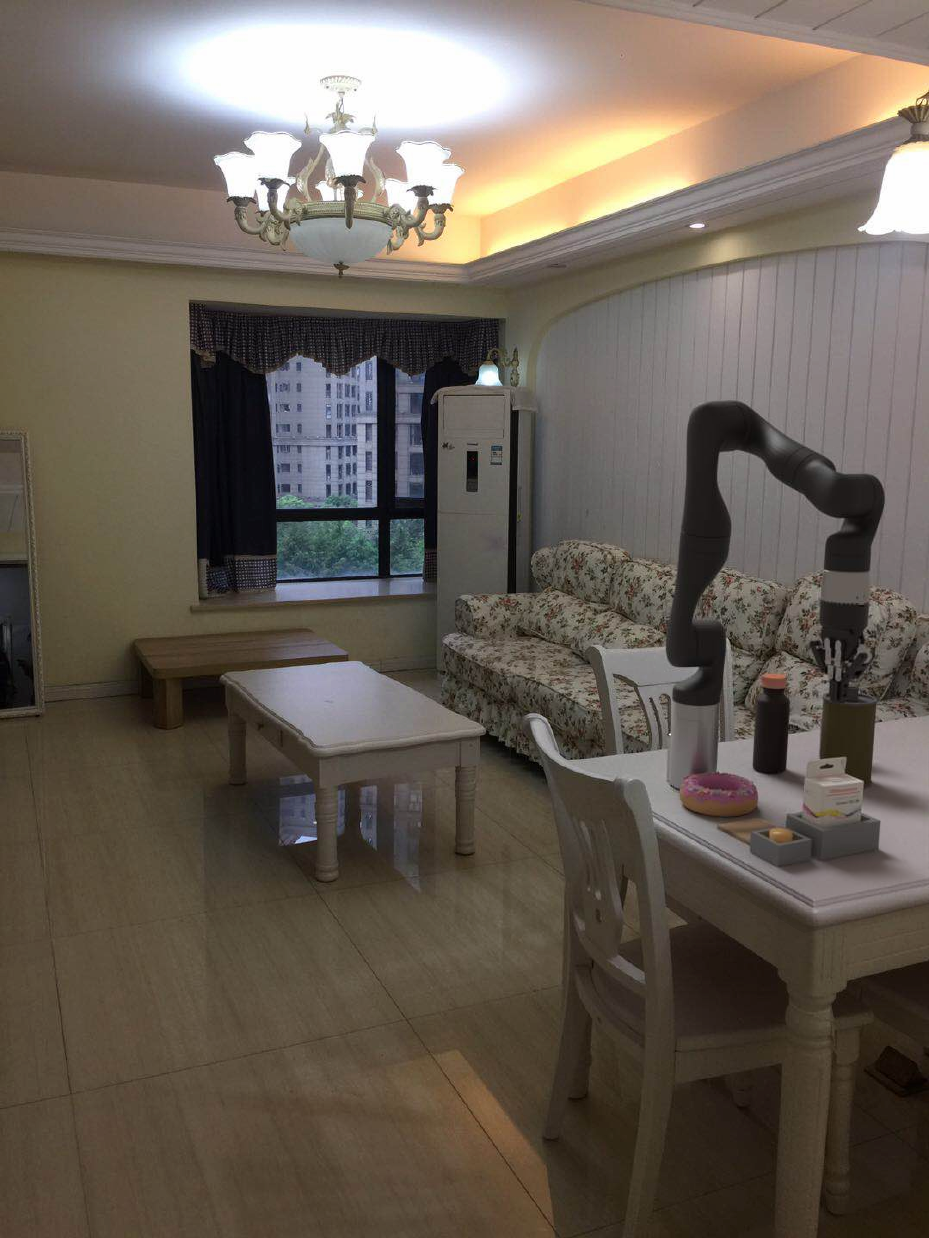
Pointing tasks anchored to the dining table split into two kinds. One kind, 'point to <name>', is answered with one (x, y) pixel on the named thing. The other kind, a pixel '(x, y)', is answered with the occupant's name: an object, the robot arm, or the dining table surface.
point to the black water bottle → (771, 726)
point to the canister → (850, 732)
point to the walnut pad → (744, 828)
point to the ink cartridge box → (831, 794)
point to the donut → (718, 794)
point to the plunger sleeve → (780, 847)
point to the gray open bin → (837, 836)
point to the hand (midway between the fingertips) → (838, 701)
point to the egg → (780, 835)
